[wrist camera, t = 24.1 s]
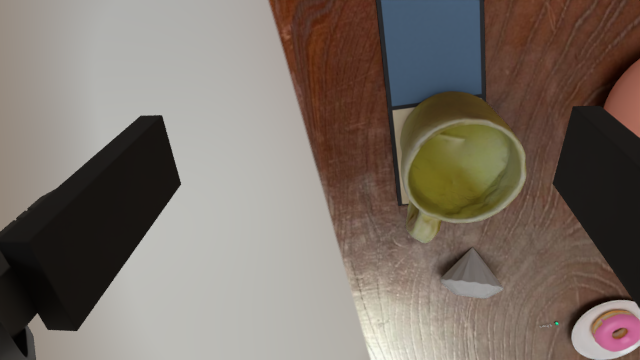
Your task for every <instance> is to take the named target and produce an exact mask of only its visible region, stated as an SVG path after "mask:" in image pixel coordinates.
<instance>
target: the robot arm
mask: <svg viewBox="0 0 640 360" xmlns="http://www.w3.org/2000/svg"><path fill="white" fill-rule="evenodd" d="M180 185H181V182H180V179H179V175H178V171H177V168H176V164H175V160H174V157H173V153H172V150H171V146H170V143H169V139H168V135H167V132H166V128H165V124H164V121H163V117H162V116H161V115H157V116H156V115H154V116H140V117H139V118H138V119H137V120H135V121H134V122H133V123H132V124H131V125H129V126H128V127H127V128H126V129H125V130H124V131H123V132H121V133H120V134H119V135H118V136H117V137H116V138H114V139H113V140H112V141H111V142H110V143H109V144H108V145H106V146H105V147H104V148H103V149H102V150H101V151H99V152H98V153H97V154H96V155H95V156H94V157H92V158H91V159H90V160H89V161H88V162H87V163H85V164H84V165H83V166H82V167H81V168H80V169H79V170H77V171H76V172H75V173H74V174H73V175H72V176H71V177H69V178H68V179H67V180H66V181H65V182H64V183H62V184H61V185H60V186H59V187H58V188H56V189H55V190H53V191H51V192H49V193H47V194H46V195H44V196H42V197H40V198H39V199H38V200H37V201H36V202H35V203H33V204H32V205H31V206H30V207H29V208H28V210H27V211H24V212H23V213H22V214H21V215H19V216H18V217H17V218H16V219H17V220H16V221H15V220H14V221H12V222H11V223H10V224H9V225H8V226H6V227H5V228H4V229H3V230H2V231H0V360H36V355H35V346H34V338H33V334H32V333H31V331H30V329H29V327H28V326H27V325H28V323H29V322H30V321H31V320H32V319H33V318H34V316H35V315H36V314H37V313H38V314H39V316H40V318H41V319H42V321H43V322H44V324H45V326H46V328H47V329H48V330H65V331H77V330H78V329H79V327H80V326H81V325H82V323H83V322H84V320H85V319H86V317H87V316H88V315H89V313H90V312H91V311H92V309H93V308H94V306H95V305H96V303H97V302H98V300H99V299H100V298H101V296H102V295H103V294H104V292H105V291H106V289H107V288H108V287H109V285H110V284H111V282H112V281H113V279H114V278H115V276H116V275H117V274H118V272H119V271H120V270H121V268H122V267H123V265H124V264H125V262H126V261H127V260H128V258H129V257H130V255H131V254H132V253H133V251H134V250H135V248H136V247H137V245H138V244H139V243H140V241H141V240H142V238H143V237H144V236H145V234H146V233H147V231H148V230H149V229H150V227H151V226H152V224H153V223H154V222H155V220H156V219H157V217H158V216H159V214H160V213H161V212H162V210H163V209H164V207H165V206H166V205H167V203H168V202H169V200H170V199H171V198H172V196H173V195H174V193H175V192H176V190H177V189H178V188H179V186H180ZM553 185H554V186H555V188H556V189H557V190H558V192H559V193H560V195H561V196H562V198H563V199H564V201H565V202H566V203H567V205H568V206H569V208H570V209H571V211H572V212H573V213H574V215H575V216H576V218H577V219H578V221H579V222H580V224H581V225H582V226H583V228H584V229H585V231H586V232H587V234H588V235H589V237H590V238H591V239H592V241H593V242H594V244H595V245H596V247H597V248H598V250H599V251H600V252H601V254H602V255H603V257H604V258H605V260H606V261H607V263H608V264H609V265H610V267H611V268H612V270H613V271H614V273H615V274H616V276H617V277H618V278H619V280H620V281H621V283H622V284H623V286H624V287H625V288H626V290H627V291H628V293H629V294H630V296H631V297H632V299H633V300H634V301H635V303H636V304H637V306H638V307H639V309H640V138H639V137H638V136H637V135H636V134H634V133H633V132H632V131H631V130H629V129H628V128H627V127H626V126H624V125H623V124H622V123H621V122H619V121H618V120H617V119H616V118H615V117H613V116H612V115H611V114H610V113H608V112H607V111H606V110H605V109H603V108H602V107H601V106H573V108H572V112H571V116H570V120H569V124H568V127H567V131H566V135H565V139H564V142H563V146H562V150H561V154H560V158H559V161H558V165H557V169H556V173H555V177H554V180H553Z"/></svg>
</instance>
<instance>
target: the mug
mask: <svg viewBox="0 0 640 360" xmlns="http://www.w3.org/2000/svg"><path fill="white" fill-rule="evenodd" d="M400 146H401V151H402V159H401V177H402V182H403V186H404V189H405V192H406V195H407V196H408V198H409V199H410V200H409V205H408V209H407V210H408V214H407V219H406V228H407V230H408V232H409V233H410V235H411V236H412V237H413V238H415V239H417V240H419V241H420V242H423V243H428V242H429V241H430V240H432V239H433V238H434V237H435V236H436V234H437V233H438V231H439V230H440V225H441V221H442V220H443V221H448V222H451V223H470V222H476V221H481V220H484V219H486V218H489V217H491V216H493V215H495V214H497V213H498V212H500V211H501V210H502V209H504V208H505V207H507V206H508V205H509V204H510V203H511V202H512V201H513V200H514V199H515V198H516V197H517V196H518V195H519V193H520V191H521V189H522V187H523V185H524V182H525V180H526V160H525V152H524V149H523V147H522V145H521V143H520V141H519V139H518V138H517V137H516V136H515V134H514V133H513V132H512V130H511V129H510V127H509V126H508V125H507V124H506V123H505V122H504V121H503V120H502V118H501V117H500V116H498V115H497V114H496V112H495V111H494V110H493V109H492V108H491V107H490V106H489V105H488V104H487V103H486V102H485V101H484V100H482V99H480V98H479V97H477V96H474V95H472V94H469V93H464V92H457V91H447V92H443V93H439V94H436V95H433V96H431V97H429V98H427V99H426V100H424V101H422V102H421V103H420V104H419V105H418V106H417V107H415V109H414V110H413V111H412V112H411V113H410V115H409V116H408V118H407V119H406V121H405V123H404V126H403V128H402V132H401V137H400Z"/></svg>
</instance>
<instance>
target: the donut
mask: <svg viewBox="0 0 640 360" xmlns="http://www.w3.org/2000/svg"><path fill="white" fill-rule="evenodd" d="M550 325H551V324H550ZM555 325H558V322H555ZM542 326H543V325H542ZM547 326H548V325H547ZM543 327H544V326H543ZM545 327H546V326H545ZM548 327H549V326H548ZM551 327H552V325H551ZM540 328H541V326H540ZM571 339H572V344H573V346H574V348H575V349H576V350H577V351H578V353H580V354H581V355H583V356H585V357H588V358H591V359H596V360H606V359H613V358H617V357H620V356H623V355H625V354H627V353H629V352H631V351H633V350H634V349H636V348H637V347H638V346H640V309H639V307H638V306H637V304H636V303H635V302H634V301H628V300H615V301H609V302H605V303H602V304H600V305H597V306H595V307H593V308H592V309H590V310H588V311H587V312H586V313H585V314H583V315H582V316H581V317H580V319H579V320H578V321H577V322H576V324H575V326H574V328H573V331H572V337H571Z"/></svg>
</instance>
